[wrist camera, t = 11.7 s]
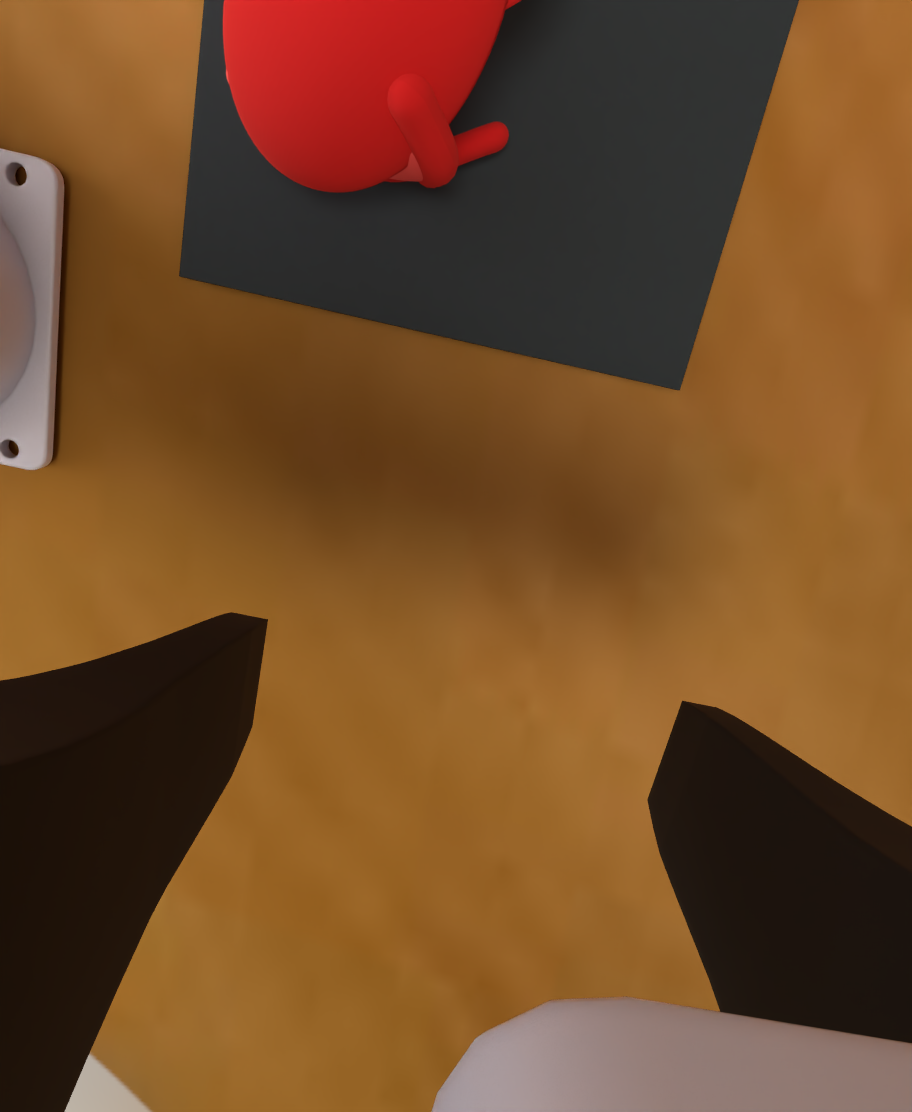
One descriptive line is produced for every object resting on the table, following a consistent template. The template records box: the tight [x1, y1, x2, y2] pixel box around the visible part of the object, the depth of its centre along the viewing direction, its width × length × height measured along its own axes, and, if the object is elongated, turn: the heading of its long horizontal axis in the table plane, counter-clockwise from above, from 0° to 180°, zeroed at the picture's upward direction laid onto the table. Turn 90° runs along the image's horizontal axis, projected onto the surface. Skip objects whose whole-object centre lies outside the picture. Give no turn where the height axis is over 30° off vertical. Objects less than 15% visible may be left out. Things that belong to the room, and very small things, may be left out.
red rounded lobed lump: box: [223, 0, 521, 193], centre depth 14 cm, size 8×6×6 cm
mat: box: [179, 0, 799, 390], centre depth 17 cm, size 14×10×1 cm
